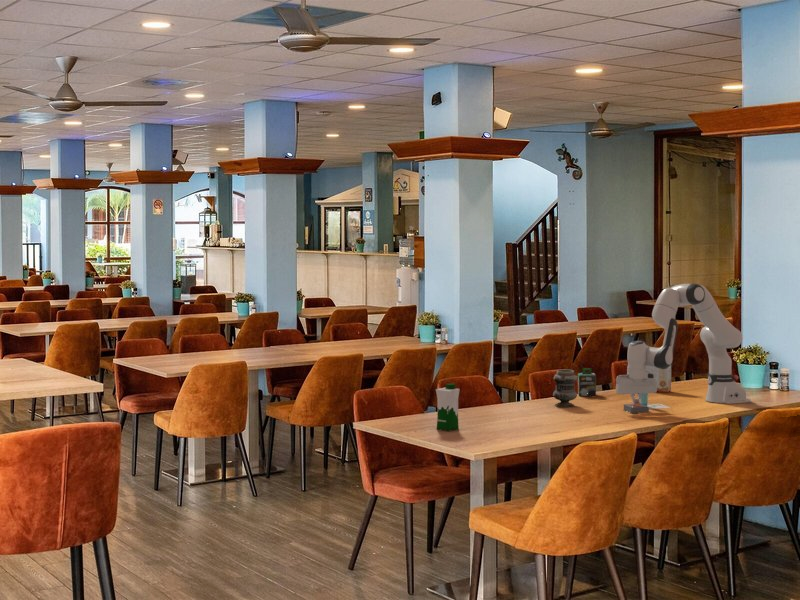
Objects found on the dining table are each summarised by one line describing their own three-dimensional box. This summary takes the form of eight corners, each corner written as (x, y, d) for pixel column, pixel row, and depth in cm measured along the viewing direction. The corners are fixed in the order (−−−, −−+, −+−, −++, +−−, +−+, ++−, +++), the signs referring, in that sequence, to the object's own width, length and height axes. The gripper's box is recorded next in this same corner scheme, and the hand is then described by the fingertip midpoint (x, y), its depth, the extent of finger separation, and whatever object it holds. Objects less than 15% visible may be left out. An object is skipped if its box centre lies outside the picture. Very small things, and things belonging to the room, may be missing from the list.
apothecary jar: (563, 408, 501) (564, 372, 500) (547, 405, 511) (548, 369, 510) (582, 406, 508) (582, 370, 507) (565, 403, 518) (566, 368, 517)
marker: (645, 405, 505) (646, 377, 505) (649, 406, 502) (649, 378, 501) (638, 405, 505) (639, 378, 504) (642, 407, 501) (642, 379, 500)
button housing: (640, 409, 497) (640, 403, 497) (648, 412, 488) (648, 406, 488) (623, 410, 496) (623, 404, 495) (631, 413, 487) (631, 407, 487)
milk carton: (461, 429, 449) (461, 384, 448) (448, 432, 442) (448, 386, 441) (446, 426, 455) (446, 382, 453) (433, 429, 448) (433, 384, 447)
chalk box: (594, 394, 547) (594, 366, 546) (596, 396, 538) (596, 369, 537) (577, 393, 548) (577, 366, 547) (578, 396, 539) (578, 368, 538)
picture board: (661, 404, 512) (661, 403, 512) (673, 409, 499) (673, 407, 499) (627, 405, 509) (627, 404, 509) (639, 410, 496) (639, 409, 495)
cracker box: (671, 391, 556) (671, 353, 554) (668, 392, 551) (668, 354, 549) (646, 389, 563) (646, 352, 562) (642, 390, 558) (643, 353, 557)
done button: (638, 410, 495) (638, 401, 494) (642, 411, 490) (642, 403, 490) (629, 410, 494) (630, 402, 494) (633, 411, 489) (633, 403, 489)
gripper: (618, 375, 486) (618, 404, 487) (658, 374, 490) (658, 403, 490) (613, 374, 492) (613, 402, 493) (653, 373, 496) (652, 401, 497)
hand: (636, 402), depth 492 cm, fingers closed, pressing on done button
